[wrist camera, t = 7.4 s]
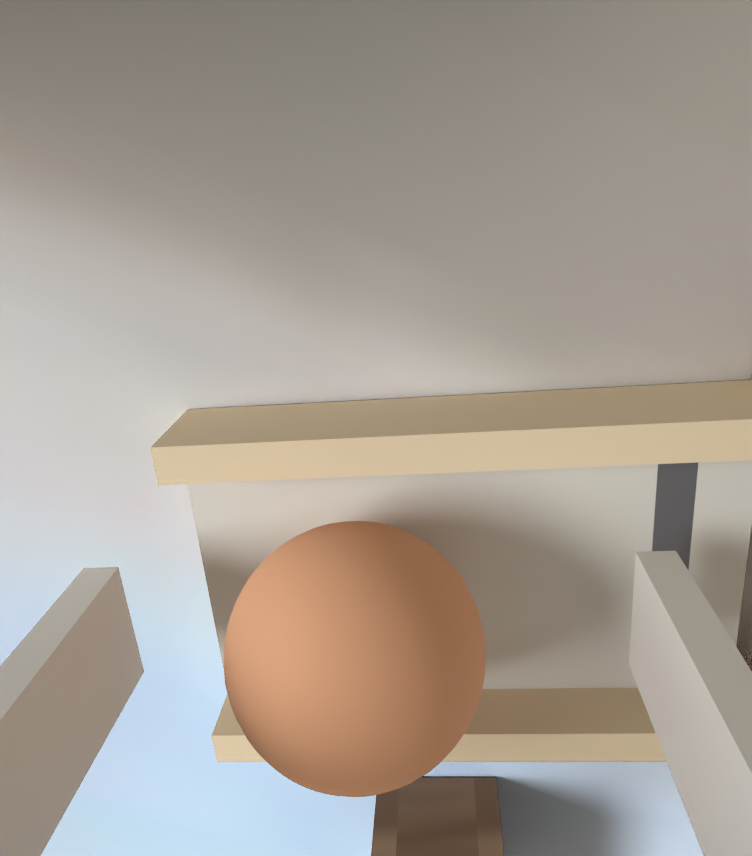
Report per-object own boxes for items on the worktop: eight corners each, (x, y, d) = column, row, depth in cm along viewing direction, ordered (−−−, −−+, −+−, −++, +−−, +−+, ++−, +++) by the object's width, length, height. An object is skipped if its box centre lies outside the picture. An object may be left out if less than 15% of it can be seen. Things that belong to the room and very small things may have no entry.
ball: (263, 477, 15) (149, 609, 11) (490, 481, 14) (469, 630, 10) (290, 662, 17) (201, 843, 13) (495, 679, 16) (479, 884, 11)
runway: (187, 409, 15) (150, 447, 13) (751, 379, 14) (804, 416, 12) (241, 694, 18) (217, 761, 16) (714, 689, 17) (753, 761, 15)
